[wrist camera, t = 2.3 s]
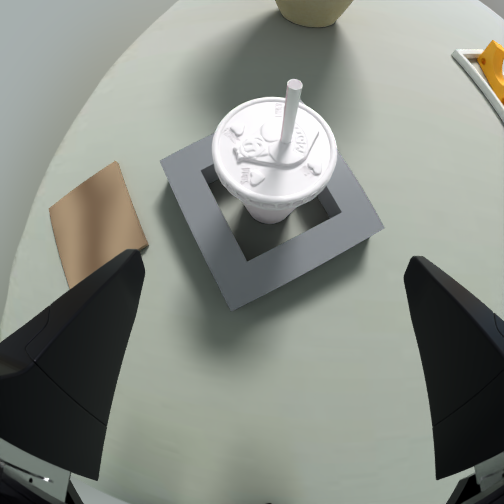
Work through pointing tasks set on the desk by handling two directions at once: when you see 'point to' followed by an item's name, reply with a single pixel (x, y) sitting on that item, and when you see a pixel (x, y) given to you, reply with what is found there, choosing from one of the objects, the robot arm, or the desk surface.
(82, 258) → the pad
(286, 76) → the desk surface
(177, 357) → the desk surface
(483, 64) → the pipe clamp
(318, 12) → the plant pot
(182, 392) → the desk surface
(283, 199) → the smoothie
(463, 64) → the tray
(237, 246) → the dock
